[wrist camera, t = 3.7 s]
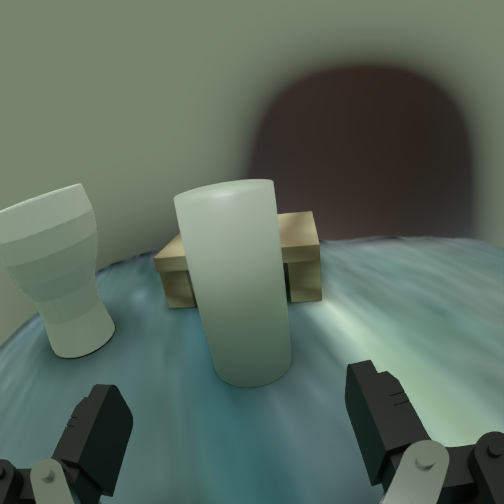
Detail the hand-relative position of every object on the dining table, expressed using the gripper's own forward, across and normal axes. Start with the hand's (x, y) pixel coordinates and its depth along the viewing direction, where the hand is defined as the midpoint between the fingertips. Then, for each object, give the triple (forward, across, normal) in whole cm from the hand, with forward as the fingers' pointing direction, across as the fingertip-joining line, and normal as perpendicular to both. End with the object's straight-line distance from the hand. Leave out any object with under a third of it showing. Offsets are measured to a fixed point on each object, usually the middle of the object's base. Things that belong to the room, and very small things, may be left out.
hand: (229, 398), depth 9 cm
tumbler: (+11, 0, +8) cm, 14 cm away
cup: (+16, +18, +8) cm, 26 cm away
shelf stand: (+25, 0, +8) cm, 26 cm away
